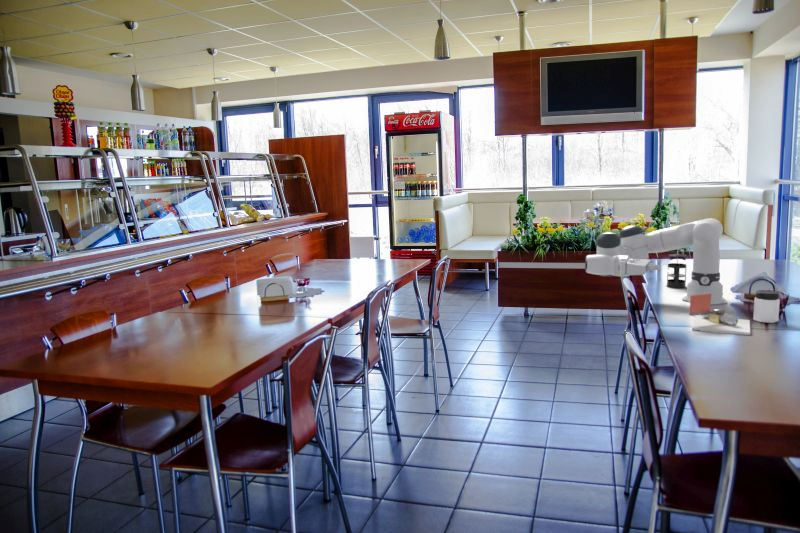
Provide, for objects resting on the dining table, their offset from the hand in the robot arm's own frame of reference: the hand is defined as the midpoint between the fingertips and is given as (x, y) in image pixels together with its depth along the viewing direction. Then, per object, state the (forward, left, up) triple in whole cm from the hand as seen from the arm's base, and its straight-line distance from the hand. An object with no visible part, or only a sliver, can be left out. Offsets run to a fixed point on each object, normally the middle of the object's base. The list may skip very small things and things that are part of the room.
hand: (660, 267), depth 253 cm
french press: (-88, 0, -24) cm, 91 cm away
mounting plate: (-5, +23, -23) cm, 33 cm away
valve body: (-8, +22, -23) cm, 33 cm away
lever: (-4, +18, -19) cm, 26 cm away
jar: (-22, +39, -24) cm, 51 cm away
